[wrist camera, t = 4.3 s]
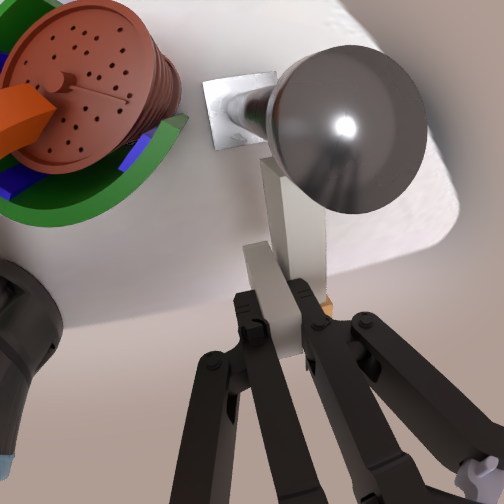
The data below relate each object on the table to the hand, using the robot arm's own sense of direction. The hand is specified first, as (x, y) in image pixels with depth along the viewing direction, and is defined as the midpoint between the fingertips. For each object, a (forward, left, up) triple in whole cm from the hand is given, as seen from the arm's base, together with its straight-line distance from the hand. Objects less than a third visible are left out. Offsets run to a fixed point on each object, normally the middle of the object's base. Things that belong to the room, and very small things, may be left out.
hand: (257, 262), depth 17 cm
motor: (-7, +12, -10) cm, 17 cm away
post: (+2, +9, -10) cm, 13 cm away
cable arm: (+2, +1, -1) cm, 3 cm away
